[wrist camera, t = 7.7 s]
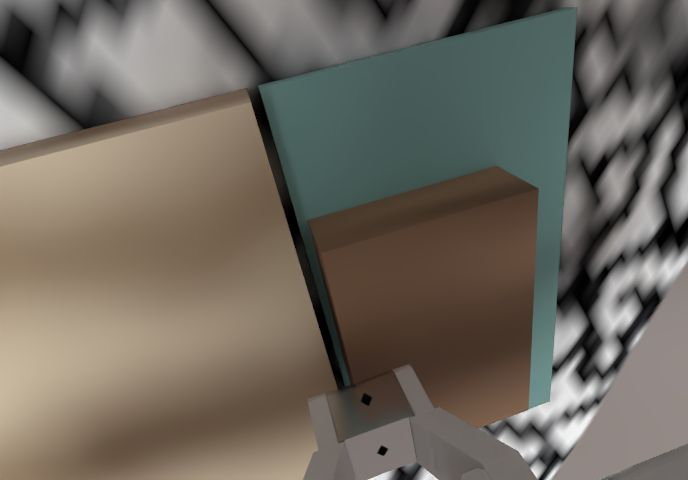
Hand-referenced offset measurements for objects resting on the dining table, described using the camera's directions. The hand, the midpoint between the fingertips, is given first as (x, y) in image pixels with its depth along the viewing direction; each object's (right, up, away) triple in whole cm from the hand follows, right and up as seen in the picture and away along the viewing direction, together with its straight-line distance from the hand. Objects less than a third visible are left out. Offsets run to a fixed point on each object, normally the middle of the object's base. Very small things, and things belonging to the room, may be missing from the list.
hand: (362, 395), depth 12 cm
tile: (+2, +2, +3) cm, 4 cm away
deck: (-7, 0, +2) cm, 7 cm away
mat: (+3, +3, +3) cm, 5 cm away
